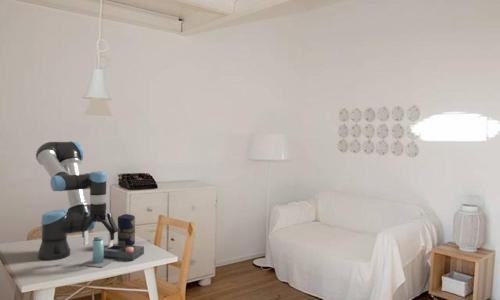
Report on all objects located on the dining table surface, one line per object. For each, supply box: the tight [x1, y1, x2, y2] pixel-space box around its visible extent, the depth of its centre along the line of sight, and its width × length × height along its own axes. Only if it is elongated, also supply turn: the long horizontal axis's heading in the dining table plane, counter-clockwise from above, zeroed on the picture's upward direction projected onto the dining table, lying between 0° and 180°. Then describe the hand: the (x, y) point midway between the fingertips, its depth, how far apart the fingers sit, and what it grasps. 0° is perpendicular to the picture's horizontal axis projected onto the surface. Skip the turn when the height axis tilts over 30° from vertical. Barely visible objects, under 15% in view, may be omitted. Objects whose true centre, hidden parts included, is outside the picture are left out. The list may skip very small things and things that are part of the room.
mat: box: [79, 257, 117, 268], centre depth 201 cm, size 12×12×1 cm
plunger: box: [126, 247, 134, 252], centre depth 209 cm, size 4×4×4 cm
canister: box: [117, 213, 136, 246], centre depth 231 cm, size 10×10×18 cm
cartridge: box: [92, 236, 105, 264], centre depth 201 cm, size 5×5×12 cm
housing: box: [104, 243, 145, 262], centre depth 212 cm, size 18×12×4 cm, turn 78°
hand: (98, 245), depth 201 cm, fingers open, 13 cm apart
